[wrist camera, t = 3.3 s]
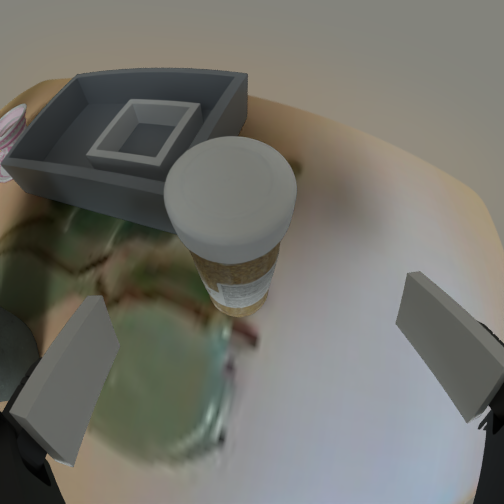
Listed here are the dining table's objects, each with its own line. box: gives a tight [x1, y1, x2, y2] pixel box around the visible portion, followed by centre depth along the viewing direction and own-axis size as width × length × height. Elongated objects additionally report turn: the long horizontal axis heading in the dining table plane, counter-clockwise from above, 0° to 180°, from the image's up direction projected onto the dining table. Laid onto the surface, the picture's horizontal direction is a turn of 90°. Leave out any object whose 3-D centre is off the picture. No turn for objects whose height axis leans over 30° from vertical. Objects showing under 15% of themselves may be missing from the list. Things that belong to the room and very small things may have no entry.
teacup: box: [0, 104, 27, 182], centre depth 25 cm, size 12×12×6 cm
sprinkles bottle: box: [164, 136, 297, 317], centre depth 15 cm, size 5×5×14 cm
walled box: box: [0, 68, 248, 234], centre depth 24 cm, size 24×16×6 cm, turn 74°
